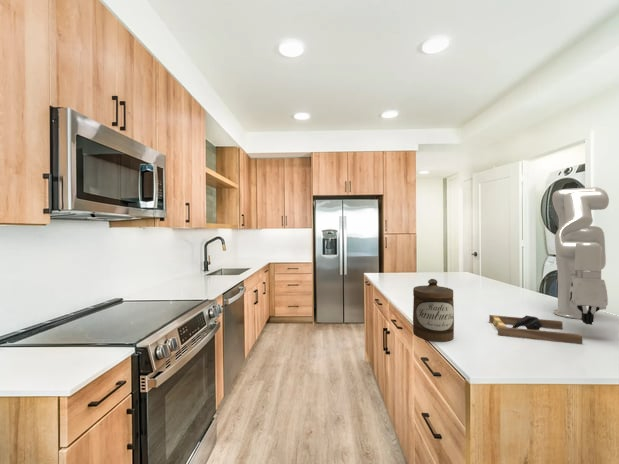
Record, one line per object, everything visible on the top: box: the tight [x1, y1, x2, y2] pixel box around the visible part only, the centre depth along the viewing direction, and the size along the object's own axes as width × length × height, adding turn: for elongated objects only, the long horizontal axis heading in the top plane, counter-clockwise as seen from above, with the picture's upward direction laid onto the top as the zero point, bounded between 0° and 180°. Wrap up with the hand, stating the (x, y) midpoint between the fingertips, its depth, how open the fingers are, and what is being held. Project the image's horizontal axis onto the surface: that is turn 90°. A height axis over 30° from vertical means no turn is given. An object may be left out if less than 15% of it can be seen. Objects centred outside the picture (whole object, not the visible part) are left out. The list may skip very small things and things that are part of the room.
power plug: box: [511, 314, 543, 330], centre depth 123 cm, size 6×8×12 cm
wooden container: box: [412, 278, 455, 343], centre depth 120 cm, size 15×15×22 cm
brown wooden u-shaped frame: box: [488, 314, 583, 345], centre depth 123 cm, size 18×26×3 cm
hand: (587, 323), depth 116 cm, fingers closed
